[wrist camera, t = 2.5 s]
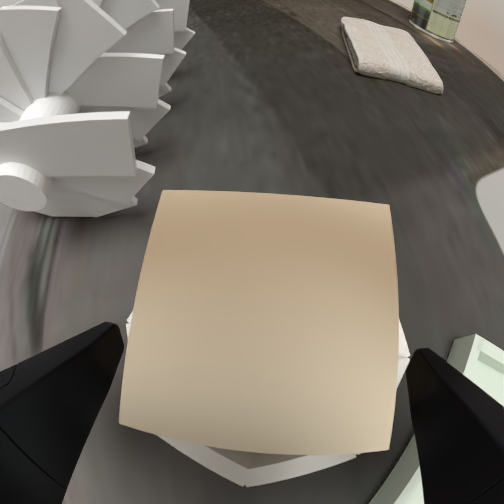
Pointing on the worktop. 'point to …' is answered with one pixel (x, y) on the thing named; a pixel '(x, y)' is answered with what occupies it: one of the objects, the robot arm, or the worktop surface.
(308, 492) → the worktop surface
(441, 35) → the coffee can
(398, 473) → the tray
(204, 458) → the collar
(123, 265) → the worktop surface
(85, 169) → the spiral staircase
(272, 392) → the dowel block
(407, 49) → the washcloth
